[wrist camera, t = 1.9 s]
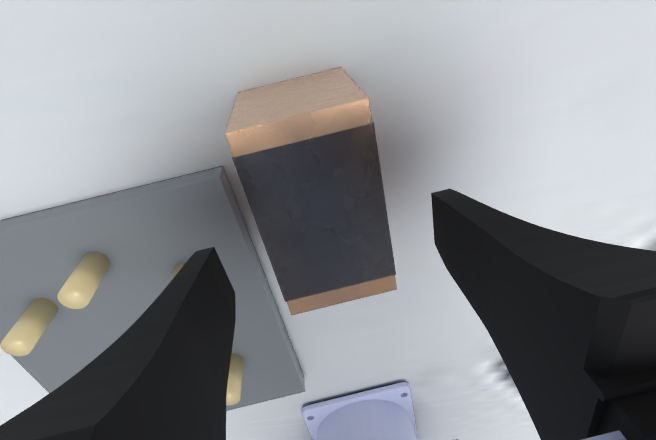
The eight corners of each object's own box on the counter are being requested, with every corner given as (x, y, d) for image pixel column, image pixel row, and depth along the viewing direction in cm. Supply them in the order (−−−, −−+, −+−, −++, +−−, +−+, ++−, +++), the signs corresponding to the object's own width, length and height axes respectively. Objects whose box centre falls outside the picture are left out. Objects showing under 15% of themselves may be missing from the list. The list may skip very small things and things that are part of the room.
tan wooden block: (369, 220, 21) (398, 289, 16) (286, 241, 21) (290, 315, 16) (341, 66, 16) (369, 97, 12) (236, 92, 16) (223, 134, 12)
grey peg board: (303, 375, 26) (308, 428, 23) (105, 424, 26) (82, 483, 23) (222, 166, 18) (212, 204, 15) (-71, 238, 18) (-144, 291, 15)
